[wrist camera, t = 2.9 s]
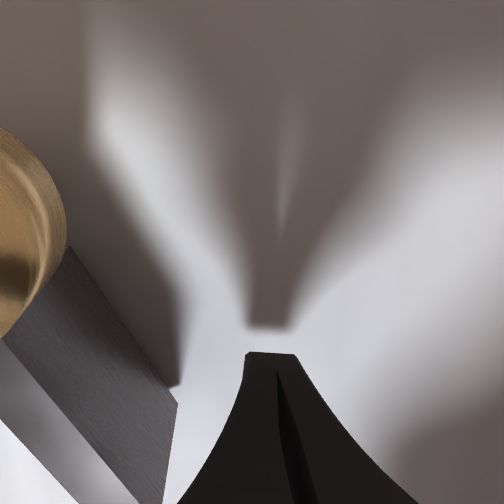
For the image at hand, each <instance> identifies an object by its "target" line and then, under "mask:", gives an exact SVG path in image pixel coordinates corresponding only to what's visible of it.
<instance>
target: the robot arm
mask: <svg viewBox="0 0 504 504" xmlns="http://www.w3.org/2000/svg"><path fill="white" fill-rule="evenodd" d="M177 504H419V503H417V502H416V501H415V500H414V499H413V498H412V497H411V496H409V495H408V494H407V493H406V492H405V491H404V490H403V489H402V488H401V487H400V486H398V485H397V484H396V483H395V482H394V481H393V480H392V479H391V478H390V477H389V476H388V475H387V474H386V473H385V472H384V471H382V470H381V469H380V468H379V467H378V466H377V464H376V463H375V462H374V461H373V460H372V459H371V458H370V457H369V456H368V455H367V454H366V453H365V452H364V450H363V449H362V448H361V447H360V446H359V445H358V444H357V442H356V441H355V440H354V439H353V438H352V436H351V435H350V434H349V433H348V432H347V430H346V429H345V428H344V427H343V425H342V424H341V423H340V421H339V420H338V419H337V417H336V416H335V415H334V414H333V412H332V411H331V409H330V408H329V406H328V405H327V404H326V402H325V401H324V399H323V398H322V397H321V395H320V394H319V392H318V391H317V389H316V388H315V386H314V385H313V383H312V381H311V380H310V378H309V377H308V375H307V373H306V372H305V370H304V369H303V367H302V365H301V363H300V362H299V360H298V358H297V357H296V356H295V355H294V354H280V353H264V352H249V353H247V354H246V355H245V361H244V370H243V378H242V383H241V386H240V389H239V392H238V395H237V397H236V400H235V403H234V406H233V408H232V410H231V413H230V415H229V417H228V419H227V422H226V424H225V426H224V428H223V430H222V432H221V434H220V436H219V438H218V440H217V442H216V444H215V446H214V448H213V449H212V451H211V453H210V455H209V457H208V458H207V460H206V462H205V463H204V465H203V466H202V468H201V470H200V471H199V473H198V474H197V476H196V478H195V479H194V481H193V482H192V484H191V485H190V487H189V488H188V489H187V491H186V492H185V494H184V495H183V496H182V498H181V499H180V500H179V502H178V503H177Z"/></svg>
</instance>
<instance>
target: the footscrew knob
mask: <svg viewBox="0 0 504 504" xmlns="http://www.w3.org/2000/svg"><path fill="white" fill-rule="evenodd" d="M66 240H67V222H66V215H65V210H64V206H63V203H62V199H61V197H60V194H59V192H58V190H57V187H56V185H55V183H54V182H53V180H52V178H51V176H50V175H49V173H48V171H47V170H46V169H45V167H44V166H43V165H42V163H41V162H40V161H39V159H38V158H37V157H36V156H35V155H34V154H33V153H32V152H31V151H30V150H29V149H28V148H27V147H26V146H25V145H24V144H23V143H22V142H20V141H19V140H18V139H17V138H16V137H15V136H13V135H12V134H10V133H9V132H7V131H6V130H5V129H3V128H2V127H0V419H1V420H2V421H3V423H4V424H5V425H6V426H7V427H8V428H9V429H10V430H11V431H12V432H13V433H14V434H15V435H16V437H17V438H18V439H19V440H20V441H21V442H22V443H23V444H24V445H25V446H26V447H27V448H28V449H29V451H30V452H31V453H32V454H33V455H34V456H35V457H36V458H37V459H38V460H39V461H40V462H41V463H42V465H43V466H44V467H45V468H46V469H47V470H48V471H49V472H50V473H51V474H52V475H53V476H54V477H55V479H56V480H57V481H58V482H59V483H60V484H61V485H62V486H63V487H64V488H65V489H66V490H67V491H68V493H69V494H70V495H71V496H72V497H73V498H74V499H75V500H76V501H77V502H78V503H79V504H162V501H163V495H164V489H165V483H166V476H167V470H168V464H169V457H170V451H171V445H172V438H173V432H174V426H175V419H176V413H177V407H178V403H177V401H176V400H175V398H174V397H173V396H172V394H171V393H170V391H169V390H168V388H167V387H166V385H165V384H164V382H163V381H162V379H161V378H160V377H159V375H158V374H157V372H156V371H155V369H154V368H153V366H152V365H151V363H150V362H149V361H148V359H147V358H146V356H145V355H144V353H143V352H142V350H141V349H140V347H139V346H138V344H137V343H136V342H135V340H134V339H133V337H132V336H131V334H130V333H129V331H128V330H127V328H126V327H125V326H124V324H123V323H122V321H121V320H120V318H119V317H118V315H117V314H116V312H115V311H114V310H113V308H112V307H111V305H110V304H109V302H108V301H107V299H106V298H105V296H104V295H103V293H102V292H101V291H100V289H99V288H98V286H97V285H96V283H95V282H94V280H93V279H92V277H91V276H90V275H89V273H88V272H87V270H86V269H85V267H84V266H83V264H82V263H81V261H80V260H79V258H78V257H77V256H76V254H75V253H74V251H73V250H72V248H71V247H70V246H69V247H67V248H65V247H66Z"/></svg>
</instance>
